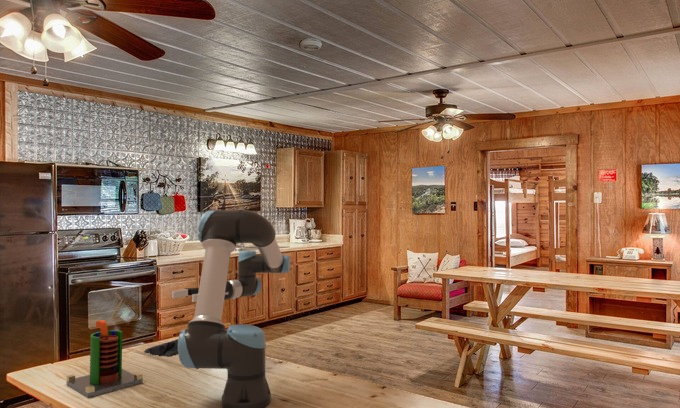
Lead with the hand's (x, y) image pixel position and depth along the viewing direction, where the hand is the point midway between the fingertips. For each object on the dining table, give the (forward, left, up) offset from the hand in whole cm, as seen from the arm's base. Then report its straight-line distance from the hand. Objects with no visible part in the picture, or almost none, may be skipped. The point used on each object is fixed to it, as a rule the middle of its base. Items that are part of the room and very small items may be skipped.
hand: (182, 296), depth 183 cm
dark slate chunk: (+28, -12, -28) cm, 42 cm away
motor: (+7, +26, -26) cm, 37 cm away
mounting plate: (+6, +26, -27) cm, 38 cm away
